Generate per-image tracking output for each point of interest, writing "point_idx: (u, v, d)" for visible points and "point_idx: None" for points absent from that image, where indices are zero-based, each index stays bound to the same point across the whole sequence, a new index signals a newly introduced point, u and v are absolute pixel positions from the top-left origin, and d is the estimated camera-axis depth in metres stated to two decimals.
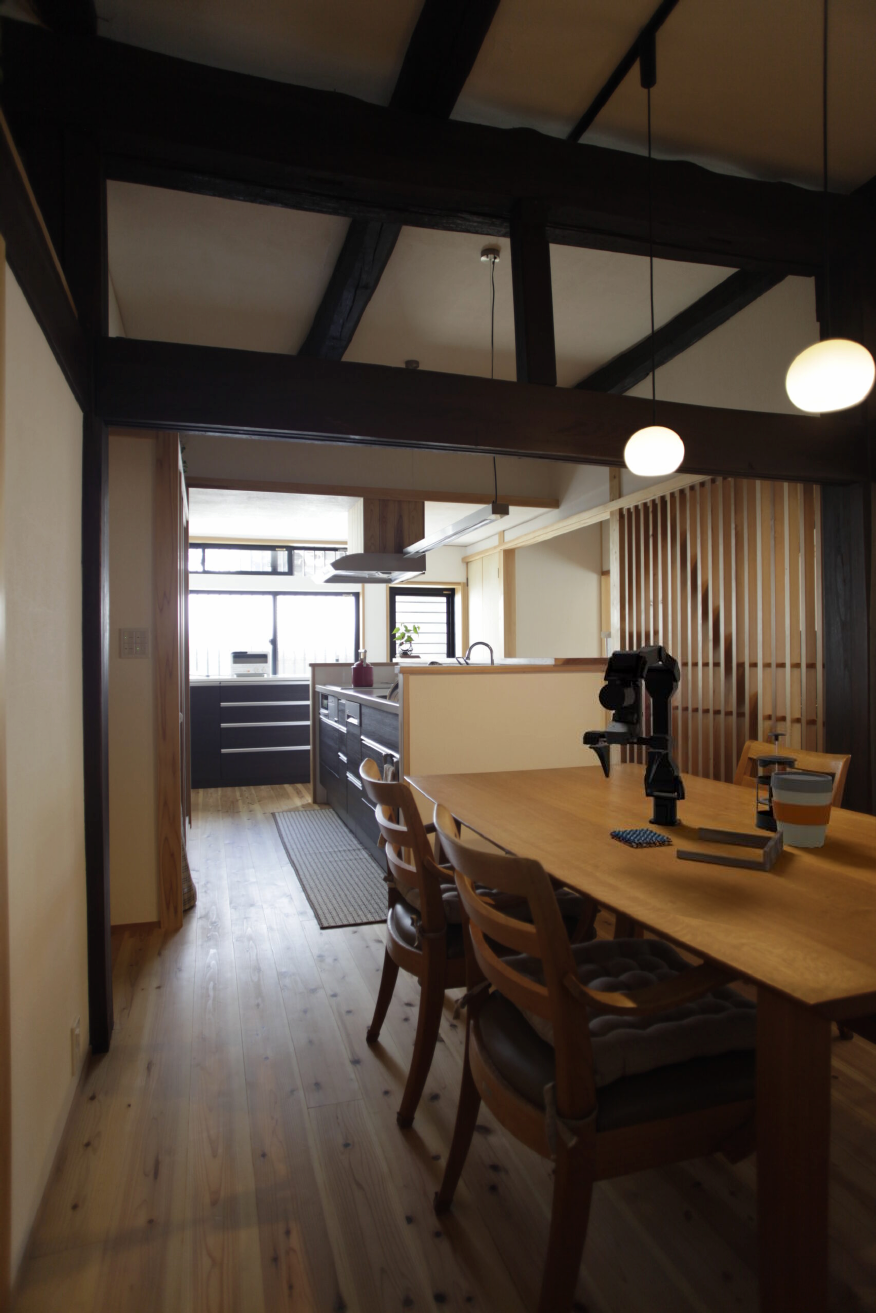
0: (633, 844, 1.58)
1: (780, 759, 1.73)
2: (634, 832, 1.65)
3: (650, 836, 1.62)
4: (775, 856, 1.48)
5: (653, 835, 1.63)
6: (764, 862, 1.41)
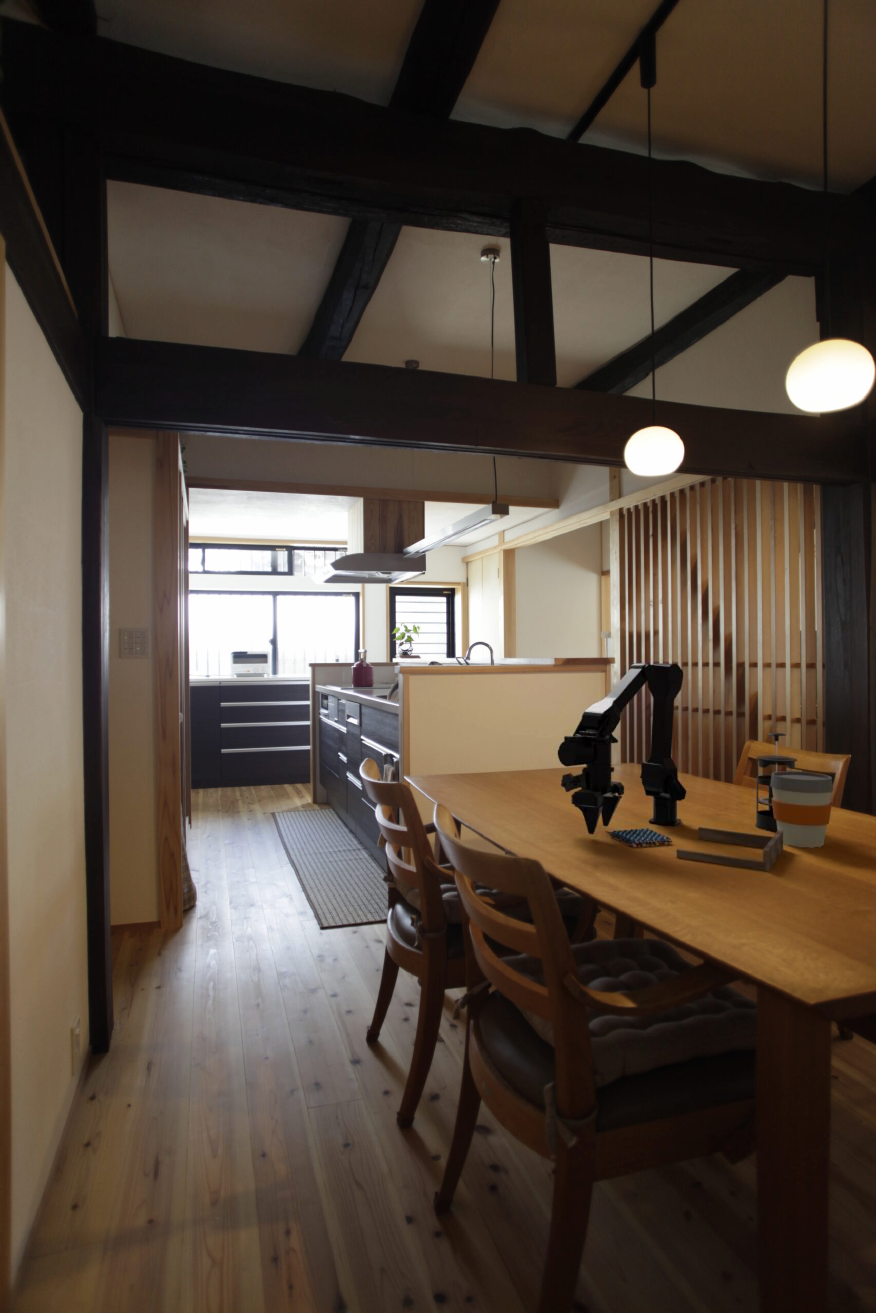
0: (633, 844, 1.58)
1: (780, 759, 1.73)
2: (634, 832, 1.65)
3: (650, 836, 1.62)
4: (775, 856, 1.48)
5: (653, 835, 1.63)
6: (764, 862, 1.41)
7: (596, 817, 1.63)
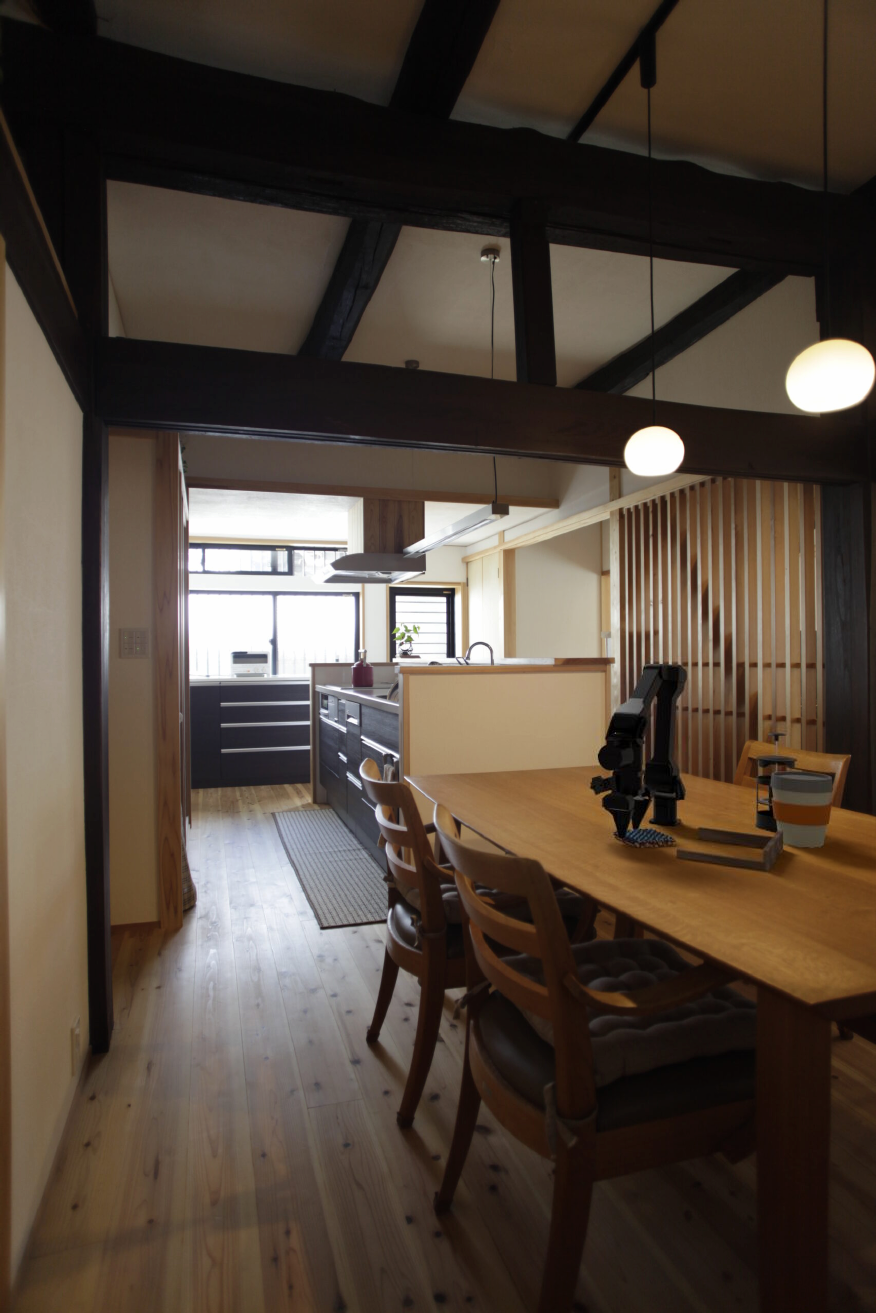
0: (636, 844, 1.57)
1: (780, 759, 1.73)
2: (638, 832, 1.65)
3: (653, 836, 1.62)
4: (775, 856, 1.48)
5: (657, 835, 1.62)
6: (764, 862, 1.41)
7: (627, 821, 1.59)
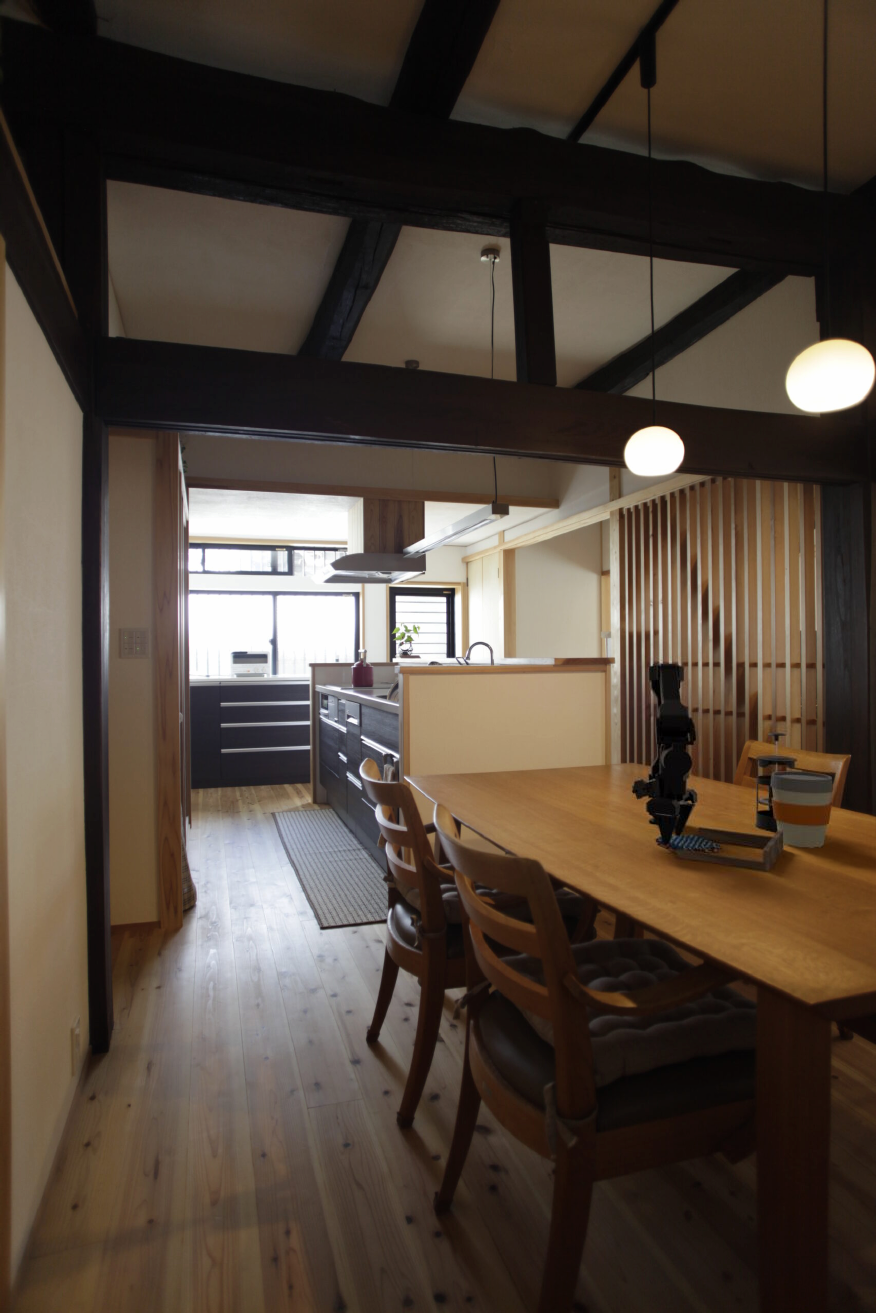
0: None
1: (780, 759, 1.73)
2: (681, 838, 1.59)
3: (698, 843, 1.56)
4: (775, 856, 1.48)
5: (701, 842, 1.57)
6: (764, 862, 1.41)
7: (672, 826, 1.54)
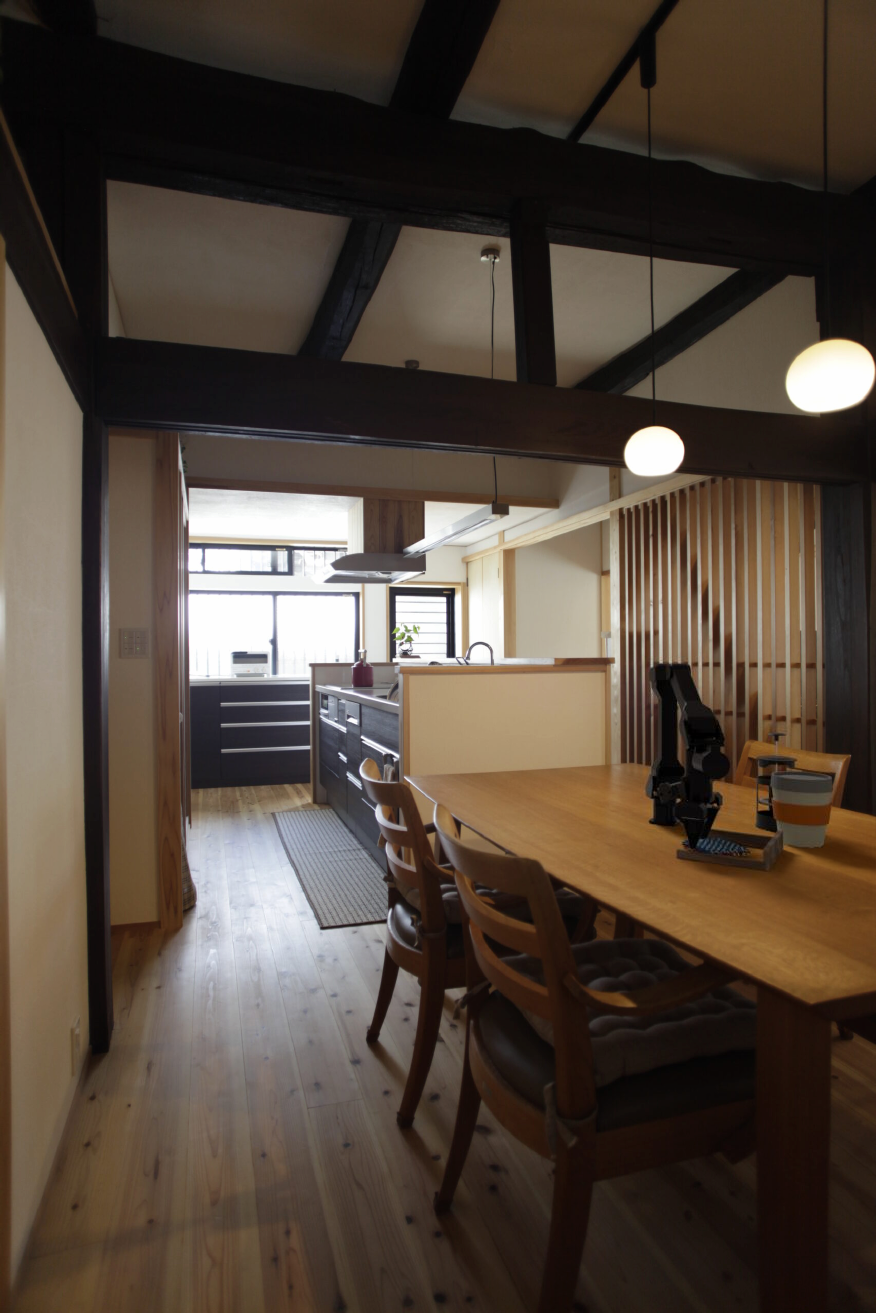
0: None
1: (780, 759, 1.73)
2: (708, 842, 1.56)
3: (726, 846, 1.53)
4: (775, 856, 1.48)
5: (729, 845, 1.54)
6: (764, 862, 1.41)
7: (700, 830, 1.51)
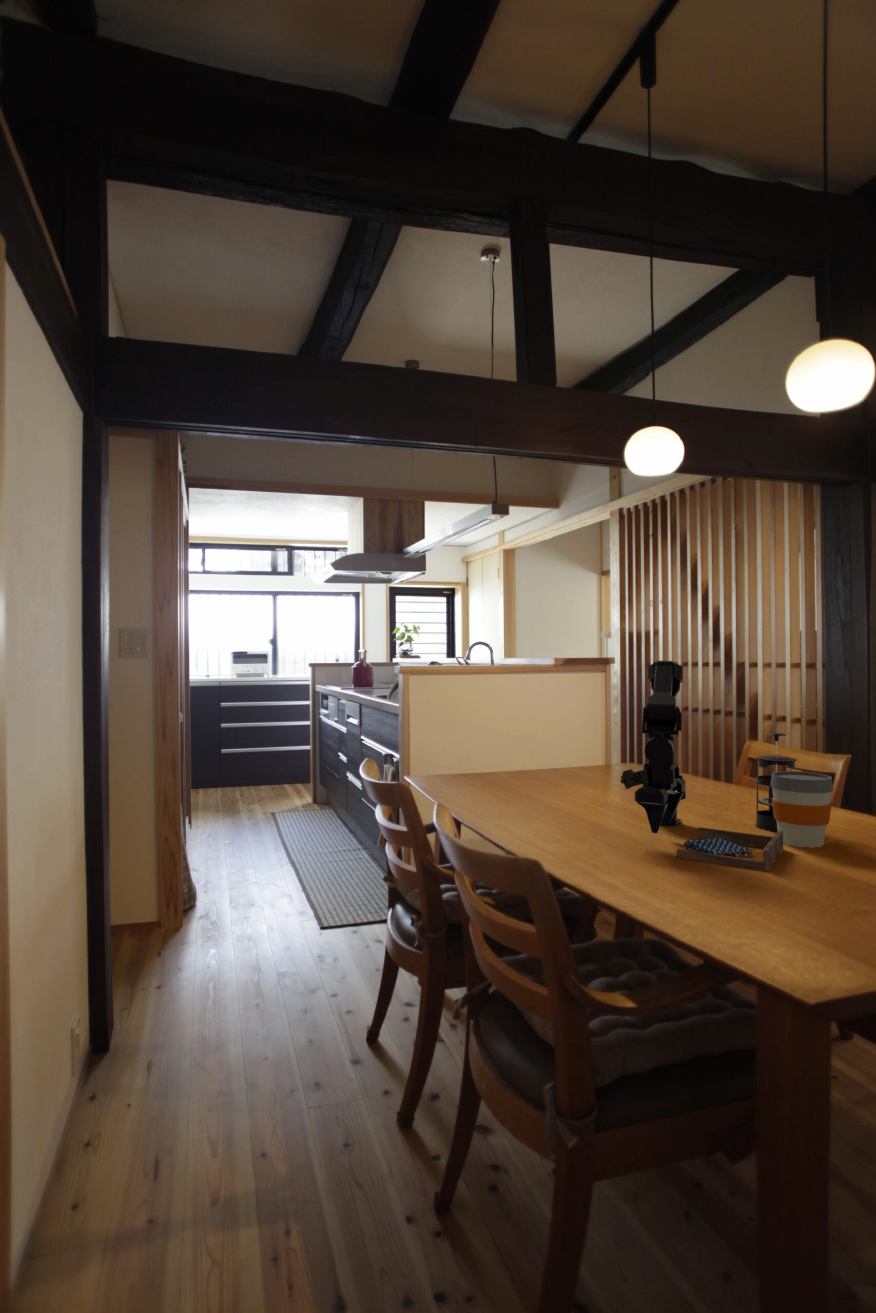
0: None
1: (780, 759, 1.73)
2: (710, 842, 1.56)
3: (728, 847, 1.53)
4: (775, 856, 1.48)
5: (731, 846, 1.54)
6: (764, 862, 1.41)
7: (661, 815, 1.55)
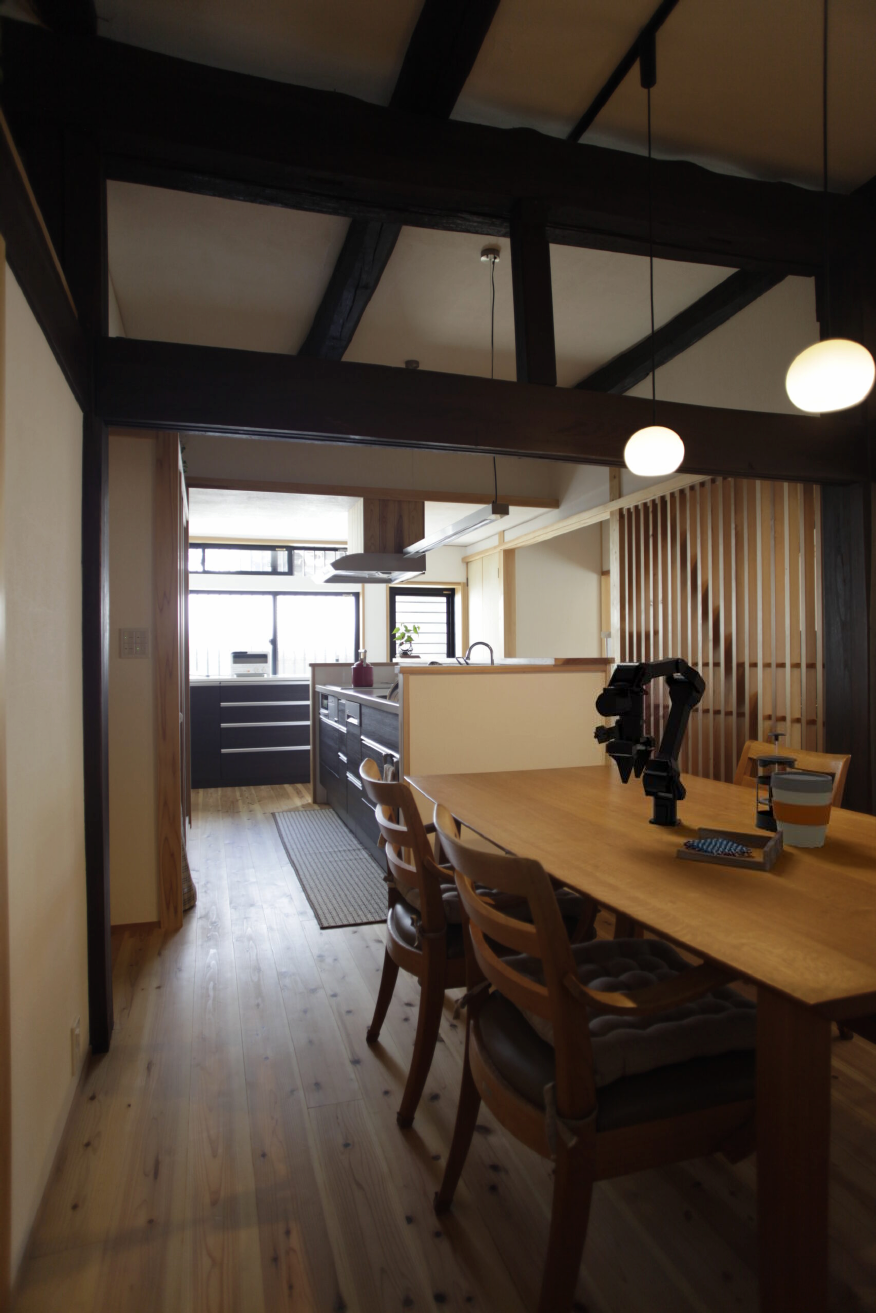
0: None
1: (780, 759, 1.73)
2: (710, 842, 1.56)
3: (728, 847, 1.53)
4: (775, 856, 1.48)
5: (731, 846, 1.54)
6: (764, 862, 1.41)
7: (630, 766, 1.66)
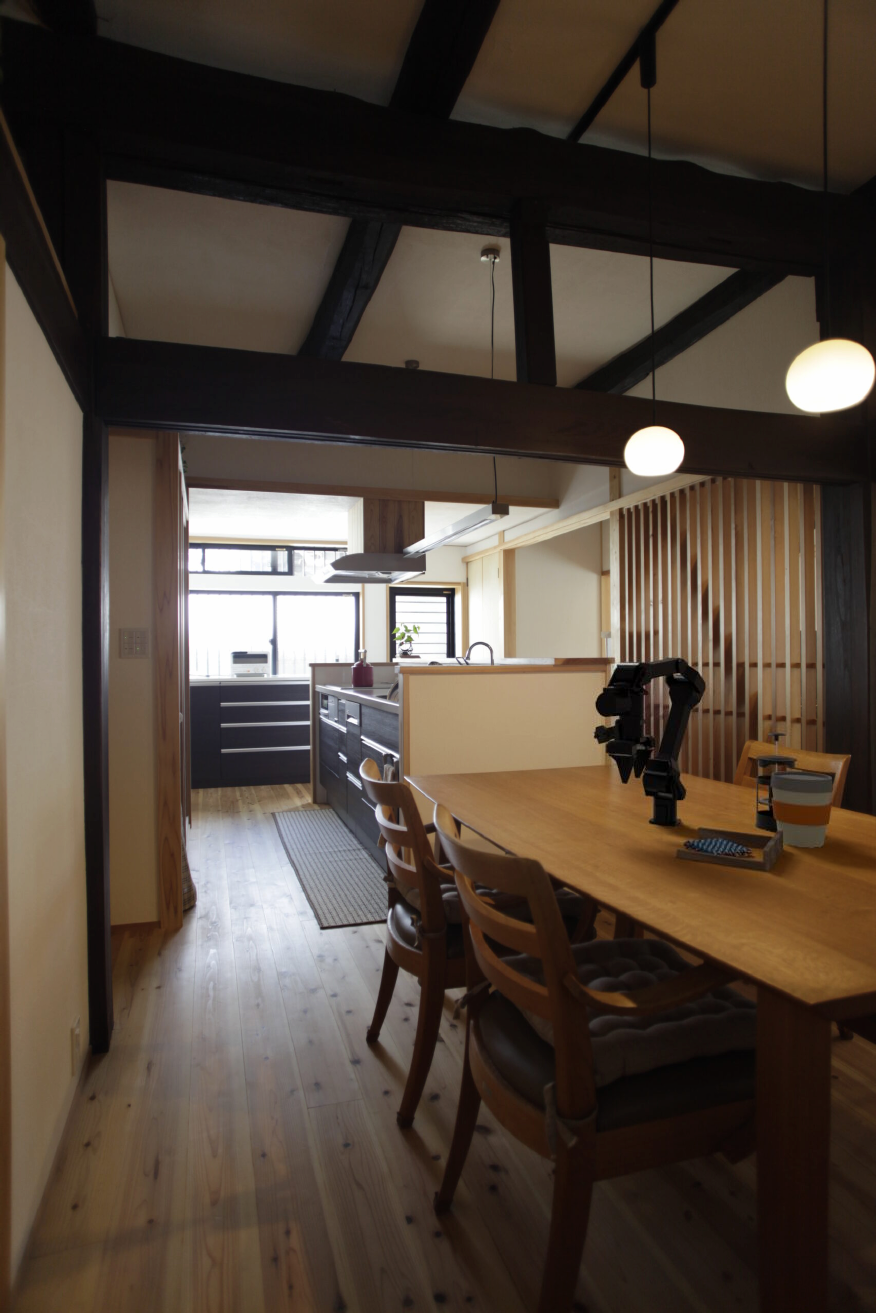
0: None
1: (780, 759, 1.73)
2: (710, 842, 1.56)
3: (728, 847, 1.53)
4: (775, 856, 1.48)
5: (731, 846, 1.54)
6: (764, 862, 1.41)
7: (630, 766, 1.66)
